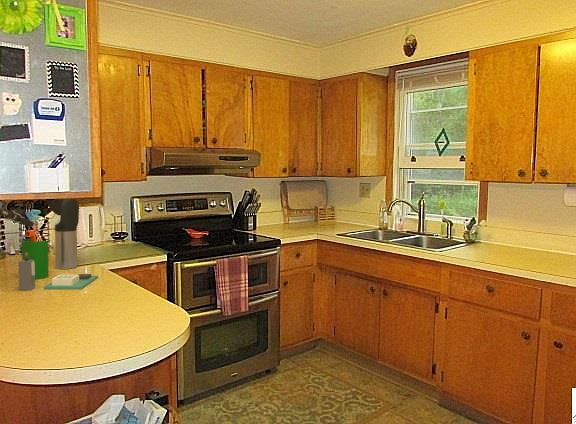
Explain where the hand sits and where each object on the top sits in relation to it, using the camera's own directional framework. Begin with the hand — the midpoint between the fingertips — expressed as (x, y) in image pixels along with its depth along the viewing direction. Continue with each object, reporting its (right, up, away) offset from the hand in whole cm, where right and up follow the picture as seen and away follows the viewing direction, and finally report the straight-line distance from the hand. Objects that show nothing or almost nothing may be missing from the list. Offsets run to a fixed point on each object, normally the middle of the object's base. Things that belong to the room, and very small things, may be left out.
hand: (32, 224), depth 185 cm
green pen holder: (-8, -23, +17) cm, 30 cm away
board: (+12, -24, +8) cm, 28 cm away
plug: (0, -24, -3) cm, 25 cm away
